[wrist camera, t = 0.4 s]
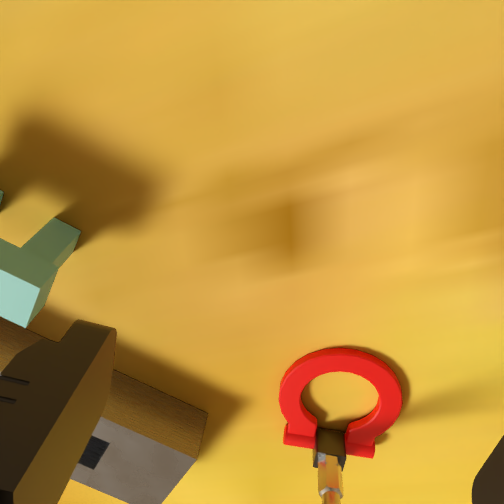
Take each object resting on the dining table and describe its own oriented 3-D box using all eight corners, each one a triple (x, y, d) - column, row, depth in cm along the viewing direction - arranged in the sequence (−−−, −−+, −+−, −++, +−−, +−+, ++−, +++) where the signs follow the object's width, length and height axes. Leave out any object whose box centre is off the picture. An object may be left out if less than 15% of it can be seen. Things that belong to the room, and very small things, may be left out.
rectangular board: (-65, 365, 37) (-103, 405, 34) (-47, 295, 33) (-89, 332, 30) (167, 467, 40) (153, 513, 37) (208, 413, 36) (196, 459, 33)
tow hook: (288, 334, 32) (271, 431, 37) (277, 515, 21) (254, 624, 25) (413, 353, 32) (381, 448, 36) (472, 548, 20) (414, 653, 25)
